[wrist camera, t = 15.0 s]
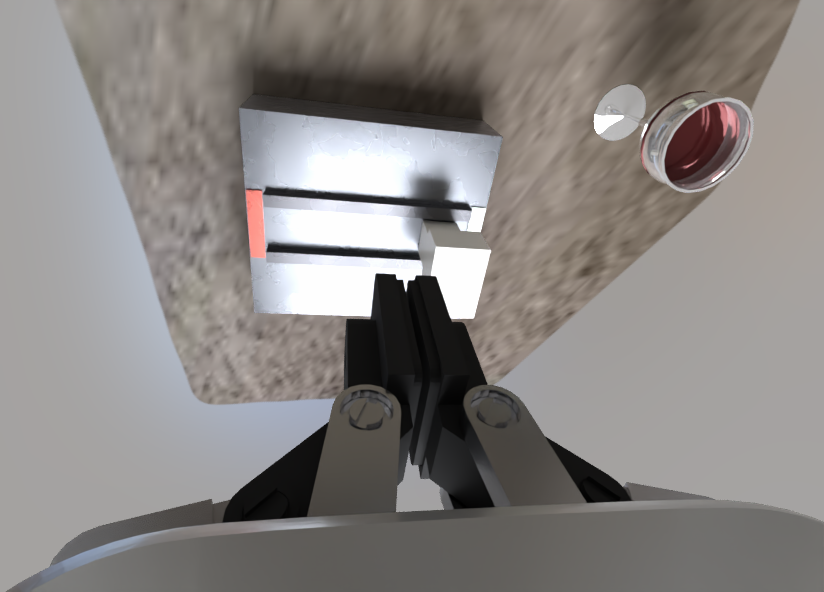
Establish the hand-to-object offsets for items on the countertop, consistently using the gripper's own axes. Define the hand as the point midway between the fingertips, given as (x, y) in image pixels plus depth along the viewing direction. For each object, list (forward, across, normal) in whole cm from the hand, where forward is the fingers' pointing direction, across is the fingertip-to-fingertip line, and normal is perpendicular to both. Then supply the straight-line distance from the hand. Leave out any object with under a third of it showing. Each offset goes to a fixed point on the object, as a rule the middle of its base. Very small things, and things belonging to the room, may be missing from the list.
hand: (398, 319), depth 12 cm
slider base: (+31, -1, +9) cm, 32 cm away
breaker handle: (+25, -7, +9) cm, 27 cm away
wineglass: (+31, -24, -2) cm, 39 cm away
